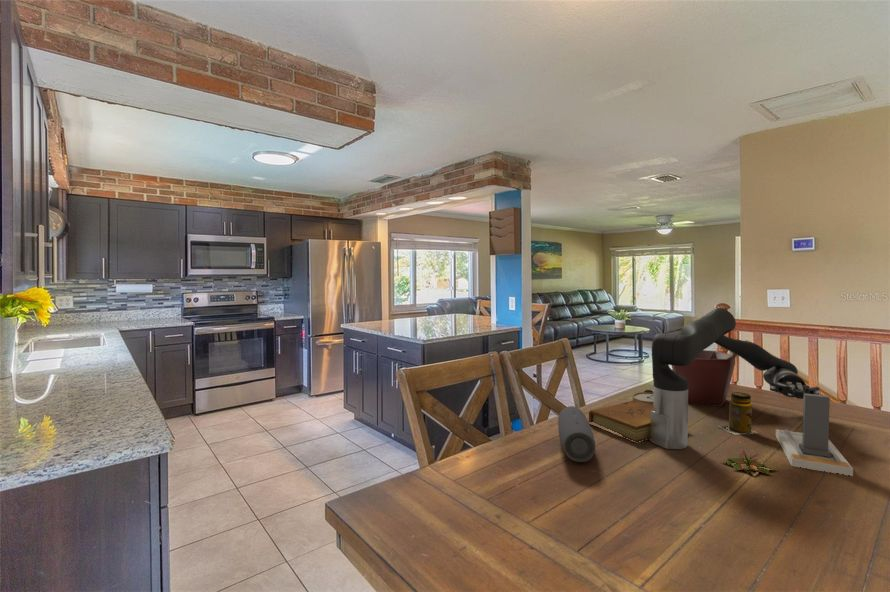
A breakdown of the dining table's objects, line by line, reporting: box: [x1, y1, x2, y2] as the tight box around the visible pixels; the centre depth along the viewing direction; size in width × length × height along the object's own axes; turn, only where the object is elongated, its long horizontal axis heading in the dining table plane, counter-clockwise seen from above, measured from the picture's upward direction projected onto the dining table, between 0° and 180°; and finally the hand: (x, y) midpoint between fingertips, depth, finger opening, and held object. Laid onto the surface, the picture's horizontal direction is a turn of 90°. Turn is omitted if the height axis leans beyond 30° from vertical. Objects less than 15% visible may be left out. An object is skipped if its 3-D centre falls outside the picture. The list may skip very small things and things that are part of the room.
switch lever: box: [799, 393, 832, 457], centre depth 114 cm, size 4×6×16 cm, turn 60°
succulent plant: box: [720, 450, 775, 476], centre depth 112 cm, size 12×12×5 cm
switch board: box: [775, 428, 854, 477], centre depth 119 cm, size 24×12×3 cm, turn 150°
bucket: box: [671, 349, 738, 406], centre depth 170 cm, size 24×22×25 cm
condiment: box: [716, 391, 758, 436], centre depth 137 cm, size 7×8×12 cm
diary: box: [588, 400, 653, 443], centre depth 142 cm, size 23×19×6 cm
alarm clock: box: [632, 389, 654, 405], centre depth 166 cm, size 11×5×15 cm
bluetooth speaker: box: [557, 405, 596, 463], centre depth 124 cm, size 23×9×10 cm, turn 168°
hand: (800, 395), depth 127 cm, fingers closed
